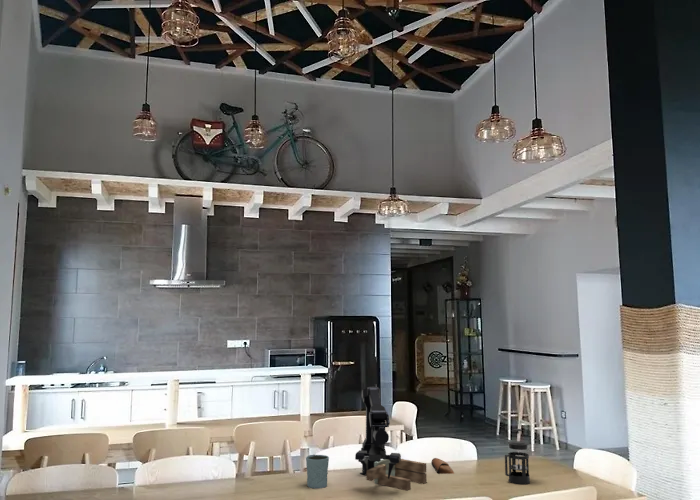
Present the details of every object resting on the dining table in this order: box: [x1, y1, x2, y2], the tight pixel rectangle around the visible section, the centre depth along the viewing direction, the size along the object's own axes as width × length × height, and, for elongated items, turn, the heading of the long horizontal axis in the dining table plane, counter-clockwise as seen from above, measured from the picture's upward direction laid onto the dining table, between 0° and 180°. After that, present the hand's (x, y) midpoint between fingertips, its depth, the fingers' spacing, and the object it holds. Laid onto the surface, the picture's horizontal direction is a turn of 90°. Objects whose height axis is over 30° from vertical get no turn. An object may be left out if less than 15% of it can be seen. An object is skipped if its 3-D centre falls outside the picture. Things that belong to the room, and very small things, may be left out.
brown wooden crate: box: [373, 458, 428, 491], centre depth 249 cm, size 17×16×9 cm
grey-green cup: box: [305, 454, 330, 489], centre depth 244 cm, size 10×10×12 cm
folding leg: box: [365, 464, 386, 482], centre depth 242 cm, size 14×2×4 cm, turn 149°
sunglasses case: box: [431, 457, 455, 475], centre depth 273 cm, size 18×7×7 cm, turn 2°
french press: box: [504, 428, 531, 486], centre depth 253 cm, size 12×9×23 cm
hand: (377, 477), depth 236 cm, fingers open, 9 cm apart
